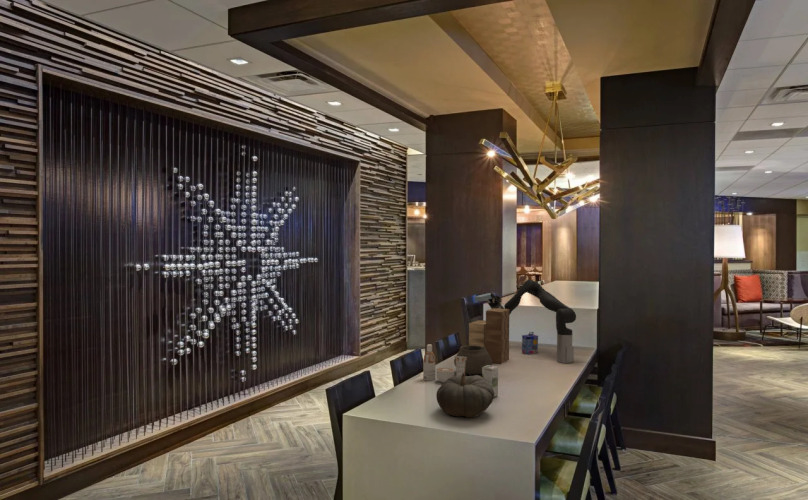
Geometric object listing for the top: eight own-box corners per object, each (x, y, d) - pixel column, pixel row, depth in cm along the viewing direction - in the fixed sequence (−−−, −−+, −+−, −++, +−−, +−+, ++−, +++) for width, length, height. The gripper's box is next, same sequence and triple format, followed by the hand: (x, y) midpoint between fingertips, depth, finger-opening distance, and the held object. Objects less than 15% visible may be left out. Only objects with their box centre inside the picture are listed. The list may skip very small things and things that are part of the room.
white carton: (487, 394, 264) (487, 364, 264) (498, 396, 260) (498, 366, 260) (481, 396, 260) (481, 366, 259) (492, 399, 256) (492, 368, 256)
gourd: (494, 398, 246) (490, 363, 244) (498, 426, 222) (494, 386, 219) (439, 402, 249) (435, 367, 246) (437, 429, 225) (433, 390, 222)
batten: (488, 297, 372) (488, 293, 372) (493, 297, 370) (493, 293, 370) (474, 301, 349) (474, 296, 349) (480, 301, 348) (480, 296, 347)
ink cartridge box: (526, 354, 360) (526, 332, 360) (521, 353, 365) (521, 331, 365) (538, 353, 364) (538, 332, 364) (533, 351, 369) (533, 330, 369)
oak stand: (478, 352, 365) (479, 320, 365) (492, 354, 361) (493, 321, 360) (468, 357, 349) (469, 323, 349) (483, 359, 345) (483, 324, 344)
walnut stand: (493, 357, 349) (494, 308, 349) (508, 359, 345) (509, 309, 344) (485, 362, 335) (485, 310, 335) (501, 364, 331) (501, 311, 330)
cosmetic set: (470, 382, 286) (470, 347, 285) (463, 386, 278) (463, 350, 277) (427, 376, 298) (428, 342, 298) (420, 380, 290) (420, 345, 290)
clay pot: (491, 379, 293) (491, 352, 292) (451, 377, 297) (452, 350, 297) (492, 370, 314) (492, 344, 314) (456, 368, 318) (456, 343, 318)
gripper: (486, 299, 384) (479, 288, 371) (505, 300, 377) (499, 289, 364) (484, 308, 381) (477, 298, 367) (504, 310, 374) (497, 299, 361)
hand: (488, 294), depth 366 cm, fingers closed on batten, 4 cm apart
